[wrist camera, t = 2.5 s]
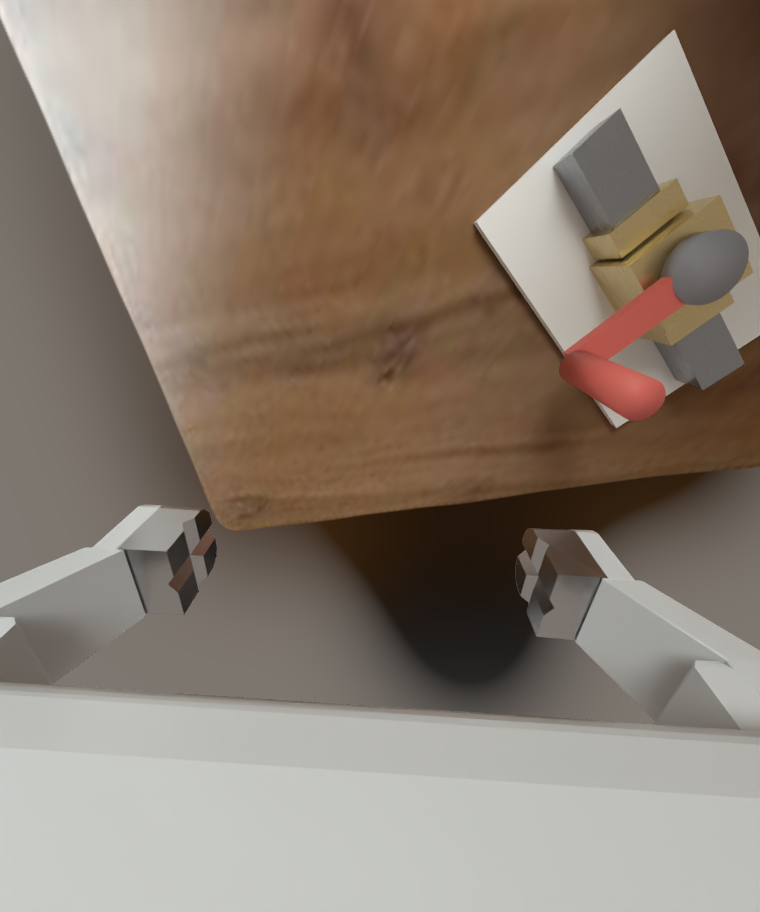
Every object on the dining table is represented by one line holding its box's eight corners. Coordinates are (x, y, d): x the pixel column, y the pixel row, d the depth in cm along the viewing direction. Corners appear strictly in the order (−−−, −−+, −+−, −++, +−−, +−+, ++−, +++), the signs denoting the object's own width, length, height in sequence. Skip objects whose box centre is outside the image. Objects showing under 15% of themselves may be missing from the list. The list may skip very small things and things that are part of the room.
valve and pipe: (532, 184, 29) (570, 159, 23) (602, 117, 27) (666, 69, 21) (653, 385, 36) (709, 409, 30) (716, 343, 34) (791, 359, 28)
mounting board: (473, 223, 31) (476, 221, 30) (662, 39, 25) (674, 29, 24) (610, 423, 38) (616, 428, 37) (778, 313, 33) (791, 314, 32)
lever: (715, 215, 24) (889, 183, 15) (740, 271, 25) (912, 270, 17) (539, 351, 28) (601, 384, 20) (569, 393, 29) (638, 441, 21)
